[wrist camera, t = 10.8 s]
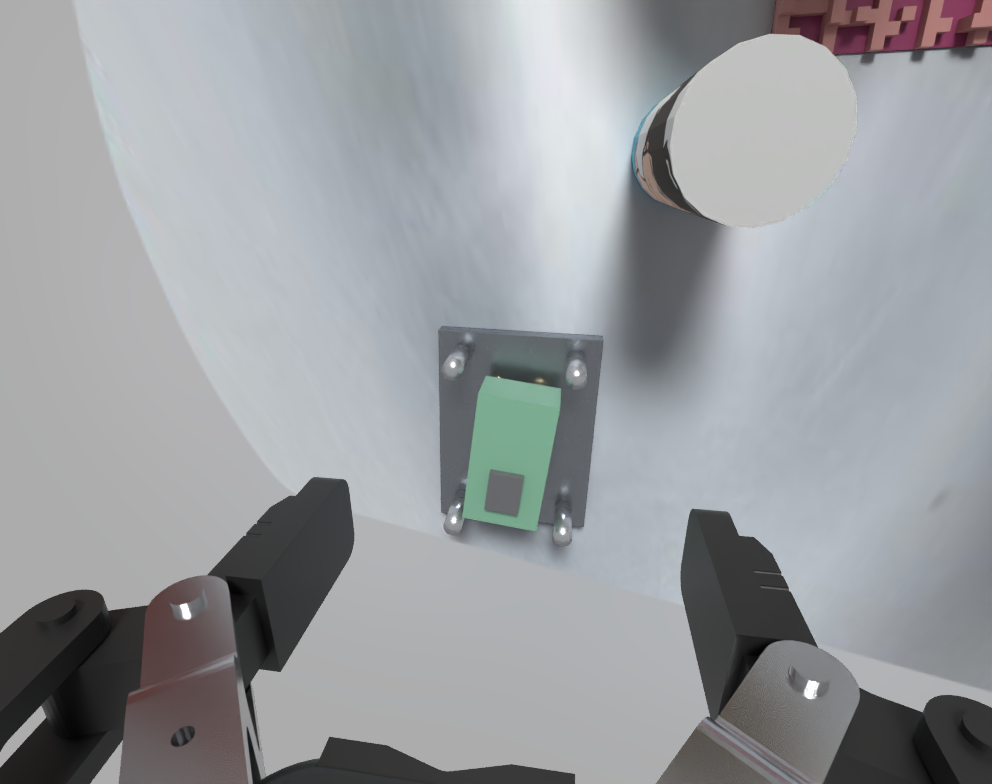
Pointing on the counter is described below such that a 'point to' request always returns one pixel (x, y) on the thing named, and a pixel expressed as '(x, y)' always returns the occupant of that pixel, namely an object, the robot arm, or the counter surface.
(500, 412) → the green block
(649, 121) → the printed cylinder
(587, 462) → the chassis
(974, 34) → the chocolate bar
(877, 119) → the counter surface
